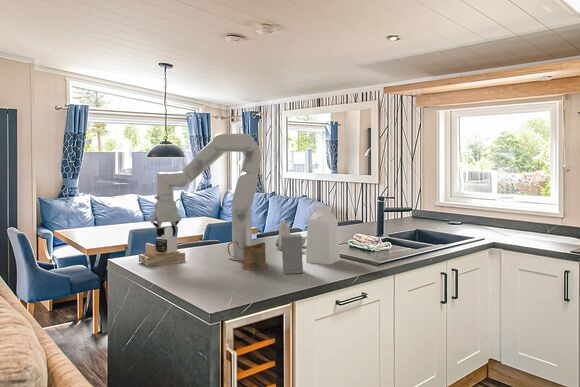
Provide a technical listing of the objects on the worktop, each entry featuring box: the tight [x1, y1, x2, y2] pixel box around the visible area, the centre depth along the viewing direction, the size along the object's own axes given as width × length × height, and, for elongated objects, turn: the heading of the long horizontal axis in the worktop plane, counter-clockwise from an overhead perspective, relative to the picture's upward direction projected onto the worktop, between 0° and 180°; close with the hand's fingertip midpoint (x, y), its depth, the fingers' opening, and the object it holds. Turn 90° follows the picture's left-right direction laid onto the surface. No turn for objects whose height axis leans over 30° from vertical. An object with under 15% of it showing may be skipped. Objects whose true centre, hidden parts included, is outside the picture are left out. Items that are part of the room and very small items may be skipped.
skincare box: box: [281, 233, 304, 275], centre depth 185 cm, size 8×7×16 cm
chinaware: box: [274, 219, 307, 251], centre depth 243 cm, size 28×17×17 cm, turn 171°
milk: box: [305, 204, 341, 265], centre depth 208 cm, size 12×12×26 cm
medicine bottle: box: [155, 226, 178, 254], centre depth 214 cm, size 7×7×12 cm
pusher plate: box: [144, 242, 156, 257], centre depth 209 cm, size 9×1×8 cm, turn 39°
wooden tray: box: [138, 250, 186, 267], centre depth 213 cm, size 12×18×4 cm, turn 129°
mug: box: [227, 241, 269, 271], centre depth 197 cm, size 12×18×12 cm, turn 111°
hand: (166, 235), depth 214 cm, fingers closed on medicine bottle, 6 cm apart
